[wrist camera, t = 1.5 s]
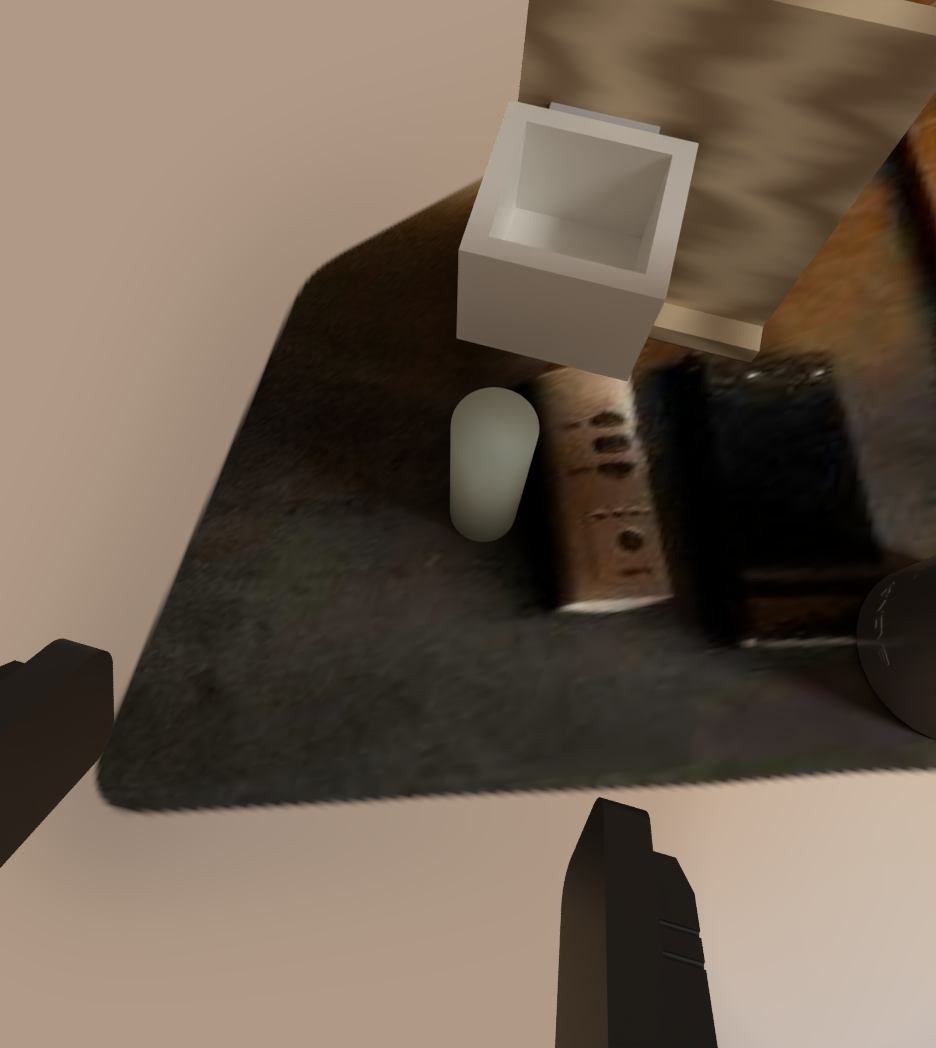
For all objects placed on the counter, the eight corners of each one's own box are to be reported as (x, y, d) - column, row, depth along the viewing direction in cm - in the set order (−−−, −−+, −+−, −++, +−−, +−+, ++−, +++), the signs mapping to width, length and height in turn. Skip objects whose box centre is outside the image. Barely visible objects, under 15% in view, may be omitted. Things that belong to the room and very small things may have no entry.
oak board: (759, 302, 42) (973, -8, 25) (750, 362, 41) (970, 77, 24) (509, 241, 43) (551, -97, 26) (492, 298, 41) (523, -20, 24)
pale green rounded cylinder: (522, 489, 37) (548, 399, 28) (506, 549, 36) (527, 477, 27) (459, 473, 38) (464, 378, 28) (441, 532, 37) (440, 454, 27)
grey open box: (659, 233, 36) (701, 131, 30) (626, 381, 33) (665, 300, 27) (503, 196, 36) (513, 89, 31) (456, 338, 33) (458, 249, 28)
